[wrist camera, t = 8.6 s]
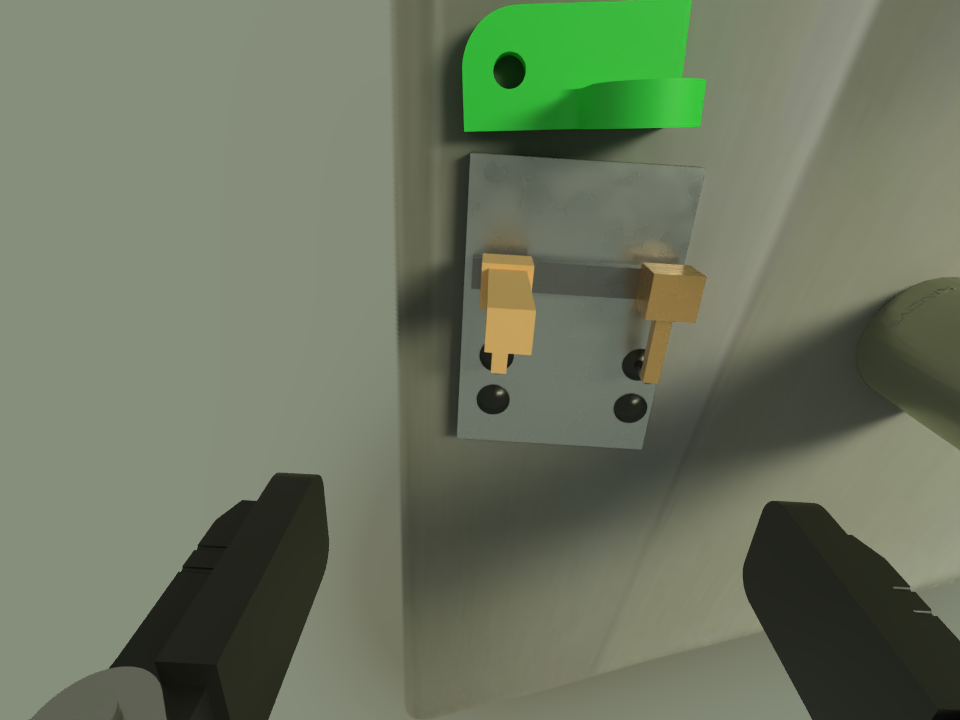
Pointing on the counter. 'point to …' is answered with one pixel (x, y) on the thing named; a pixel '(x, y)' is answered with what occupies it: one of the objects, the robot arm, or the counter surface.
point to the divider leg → (507, 307)
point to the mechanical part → (583, 67)
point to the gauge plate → (578, 295)
